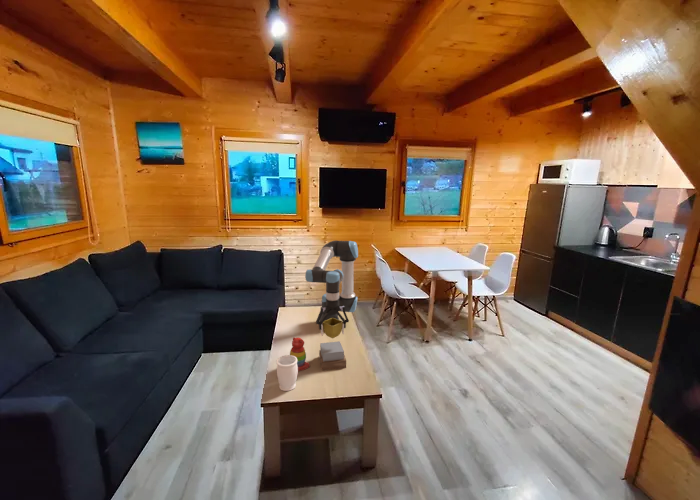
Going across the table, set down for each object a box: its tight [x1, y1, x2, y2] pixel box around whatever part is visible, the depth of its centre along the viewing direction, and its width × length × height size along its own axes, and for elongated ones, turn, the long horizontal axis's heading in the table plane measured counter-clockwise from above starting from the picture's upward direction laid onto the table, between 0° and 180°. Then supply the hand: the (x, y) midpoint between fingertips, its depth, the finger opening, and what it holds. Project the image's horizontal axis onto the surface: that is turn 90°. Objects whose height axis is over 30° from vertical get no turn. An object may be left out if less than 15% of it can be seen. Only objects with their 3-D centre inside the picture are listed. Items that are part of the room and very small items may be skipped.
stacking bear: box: [289, 337, 311, 372], centre depth 179 cm, size 11×10×18 cm
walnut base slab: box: [318, 349, 347, 371], centre depth 185 cm, size 14×14×5 cm
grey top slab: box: [319, 340, 345, 362], centre depth 184 cm, size 12×12×5 cm
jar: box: [276, 354, 299, 392], centre depth 161 cm, size 11×10×15 cm
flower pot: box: [322, 318, 343, 339], centre depth 181 cm, size 9×9×9 cm
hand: (332, 334), depth 182 cm, fingers closed on flower pot, 12 cm apart
